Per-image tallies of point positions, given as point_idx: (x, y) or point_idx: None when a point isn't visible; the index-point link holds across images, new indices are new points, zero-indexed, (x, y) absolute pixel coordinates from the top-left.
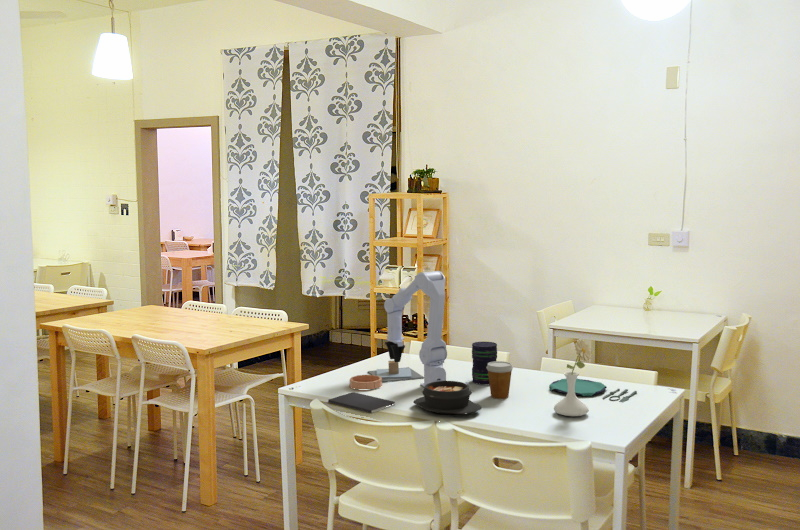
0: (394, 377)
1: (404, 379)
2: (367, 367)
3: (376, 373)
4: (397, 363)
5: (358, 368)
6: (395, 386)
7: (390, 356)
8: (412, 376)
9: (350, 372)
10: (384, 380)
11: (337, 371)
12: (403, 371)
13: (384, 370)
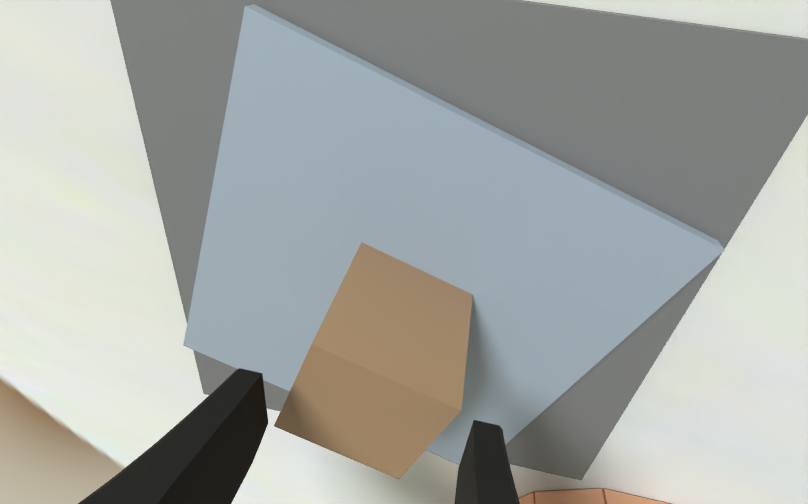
0: (571, 380)
1: (677, 316)
2: (37, 315)
3: None
4: (454, 407)
5: (69, 372)
6: (798, 464)
7: (248, 468)
8: (653, 187)
9: None
10: (575, 455)
11: None
12: (403, 201)
13: (261, 325)
